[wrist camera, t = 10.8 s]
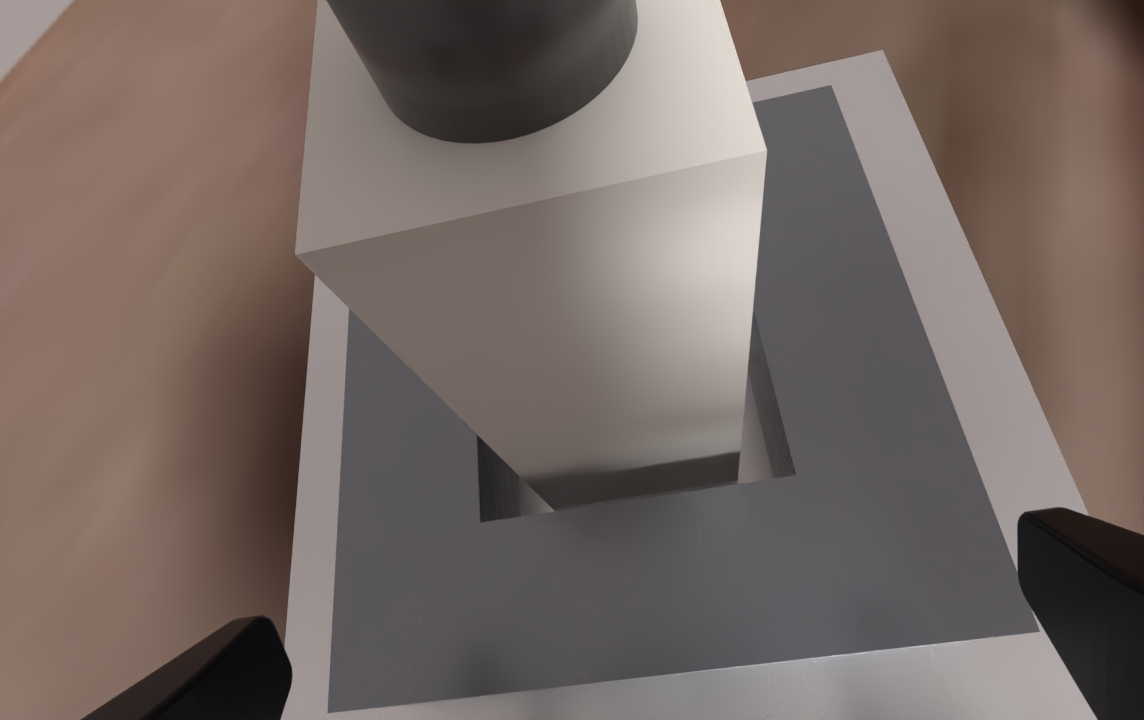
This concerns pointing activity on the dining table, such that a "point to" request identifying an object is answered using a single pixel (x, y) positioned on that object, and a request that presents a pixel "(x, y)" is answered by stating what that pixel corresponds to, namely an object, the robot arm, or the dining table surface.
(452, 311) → the plug
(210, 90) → the dining table surface
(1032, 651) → the grey square frame
